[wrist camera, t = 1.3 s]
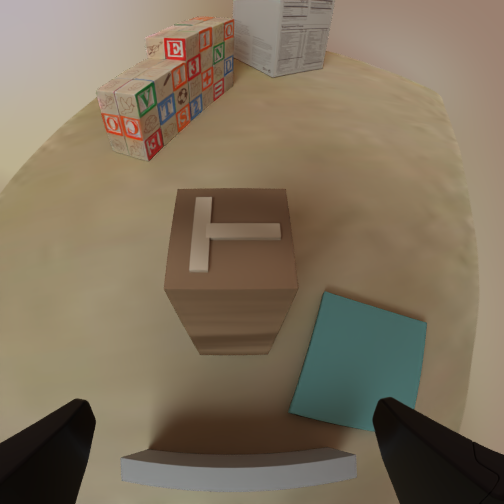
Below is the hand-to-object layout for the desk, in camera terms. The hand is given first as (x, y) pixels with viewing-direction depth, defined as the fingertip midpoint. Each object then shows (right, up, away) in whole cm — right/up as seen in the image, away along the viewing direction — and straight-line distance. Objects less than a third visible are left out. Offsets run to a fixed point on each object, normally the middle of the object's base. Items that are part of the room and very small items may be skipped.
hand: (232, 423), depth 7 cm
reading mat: (+10, -4, +13) cm, 17 cm away
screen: (0, -10, +9) cm, 14 cm away
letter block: (-1, -1, +15) cm, 15 cm away
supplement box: (+5, +42, +41) cm, 59 cm away
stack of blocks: (-10, +24, +30) cm, 40 cm away
